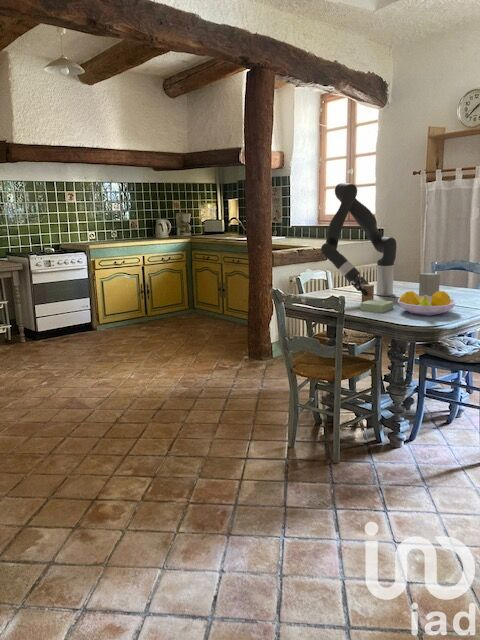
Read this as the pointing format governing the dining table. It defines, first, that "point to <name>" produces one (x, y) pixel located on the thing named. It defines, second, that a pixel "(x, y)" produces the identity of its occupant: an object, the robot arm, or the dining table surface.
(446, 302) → the fruit bowl
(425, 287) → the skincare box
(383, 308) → the sage platform block
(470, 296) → the dining table surface
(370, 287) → the walnut block
